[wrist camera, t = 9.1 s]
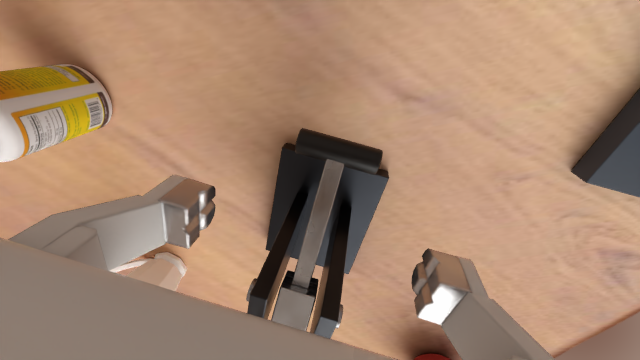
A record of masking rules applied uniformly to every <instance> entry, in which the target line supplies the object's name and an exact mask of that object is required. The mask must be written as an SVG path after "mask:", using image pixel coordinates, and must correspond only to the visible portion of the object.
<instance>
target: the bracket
mask: <svg viewBox="0 0 640 360" xmlns="http://www.w3.org/2000/svg"><path fill="white" fill-rule="evenodd" d="M325 162H326V161H322V160H319V159H315V158H312V157H308V156H304V155H301V154H297V153H296V152H295V145H293V144H289V143H286V144H285V145H284V146H283V147H282V151H281V158H280V164H279V170H278V176H277V183H276V189H275V195H274V201H273V207H272V214H271V220H270V226H269V232H268V239H267V245H266V250H268V251H270V252H269V254H268V257H267V259H266V261H265V263H264V265H263V267H262V270H261V272H260V274H259V276H258V278H257V279H256V278H255V279H254V280H253V281H252V283H251V285H250V288H249V290H248V293H247V298H246V300H247V301H249V305H248V314H251V315H254V316H257V317H261V318H264V319H268V316H269V313H270V310H271V308H272V305H273V302H274V299H275V297H276V294H277V291H278V289H279V286H280V283H281V280H282V278H283V275H284V272H285V269H286V267H287V264H288V261H289V258H290V257H292V258H295V259H298V258H299V255H300V251H301V248H302V244H303V241H304V237H305V234H306V230H307V226H308V223H309V219H310V216H311V212H312V209H313V205H314V202H315V198H316V194H317V191H318V187H319V184H320V180H321V177H322V173H323V170H324V166H325ZM388 179H389V175H388V171H385V170H381V169H378V171H377V173H376V174H375V175H372V174H368V173H365V172H361V171H358V170H354V169H350V168H347V167H344V168H343V171H342V175H341V178H340V181H339V185H338V188H337V192H336V195H335V199H334V202H333V206H332V209H331V213H330V216H329V219H328V223H327V226H326V230H325V233H324V237H323V240H322V244H321V247H320V251H319V254H318V257H317V261H316V264H315V265H319V266H322V267H324V268H323V272H322V277H321V282H320V287H319V292H318V296H317V301H316V306H315V311H314V316H313V320H312V325H311V330H310V333H313V334H316V335H319V336H322V337H326V338H329V339H330V338H331V336H332V334H333V332H334V329H335V328H338V327H339V326H340V323H341V319H342V314H343V305H342V304H340V302H341V293H342V285H343V277H344V273H346V274H349V272H350V269H351V267H352V265H353V262H354V260H355V257H356V255H357V253H358V250H359V248H360V246H361V243H362V241H363V238H364V236H365V234H366V231H367V229H368V227H369V224H370V222H371V219H372V217H373V215H374V212H375V210H376V208H377V205H378V203H379V200H380V198H381V196H382V193H383V191H384V189H385V186H386V184H387V182H388Z"/></svg>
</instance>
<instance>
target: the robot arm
mask: <svg viewBox="0 0 640 360" xmlns="http://www.w3.org/2000/svg"><path fill="white" fill-rule="evenodd" d="M214 197H215V188H214V186H212V185H208V184H205V183H202V182H199V181H196V180H193V179H189V178H186V177H182V176H179V175H172V176H170V177H169V178H168V179H166V180H165V181H163V182H162V183H160V184H159V185H158V186H156V187H155V188H153V189H152V190H151V191H149V192H148V193H146V194H145V195H143V196H140V195H137V196H132V197H128V198H123V199H119V200H115V201H110V202H106V203H101V204H97V205H93V206H88V207H84V208H79V209H75V210H71V211H66V212H62V213H58V214H53V215H51V216H49V217H47V218H45V219H44V220H42V221H40V222H38V223H36V224H35V225H33V226H31V227H29V228H28V229H26V230H24V231H22V232H21V233H19V234H17V235H15V236H14V237H12V238H10V239H8V240H6V239H3V238H0V360H398V359H394V358H391V357H388V356H385V355H381V354H378V353H375V352H372V351H368V350H365V349H362V348H358V347H355V346H352V345H349V344H345V343H342V342H339V341H336V340H332V339H329V338H326V337H322V336H319V335H316V334H313V333H309V332H306V331H303V330H300V329H296V328H293V327H290V326H287V325H283V324H280V323H277V322H274V321H270V320H267V319H264V318H261V317H257V316H254V315H251V314H248V313H244V312H241V311H238V310H235V309H231V308H228V307H225V306H222V305H218V304H215V303H212V302H209V301H205V300H202V299H199V298H196V297H192V296H189V295H186V294H183V293H179V292H176V291H173V290H170V289H166V288H163V287H160V286H156V285H153V284H150V283H147V282H143V281H140V280H137V279H134V278H130V277H127V276H124V275H121V274H117V273H114V272H111V271H110V270H112V269H114V268H116V267H118V266H120V265H122V264H124V263H127V262H129V261H131V260H133V259H135V258H137V257H139V256H141V255H143V254H145V253H147V252H149V251H152V250H154V249H156V248H158V247H160V246H162V245H164V244H165V242H166V243H169V244H173V245H177V246H180V247H184V248H188V249H189V248H190V247H191V245H192V244H193V243H194V242H195V241H196V240H197V238H198V237H199V231H200V230H203V229H205V228H207V227H208V225H209V224H210V223H211V221H212V219H213V216H214V212H215V204H214V202H213V201H212V199H213V198H214ZM422 257H423V262H421V263H419V264H417V265H416V267H415V269H414V271H413V275H412V289H413V291H414V292H415V293H416V294H417V297H416V298H415V300H414V302H415V308H416V314H417V317H418V318H421V319H424V320H427V321H430V322H433V323H436V324H439V325H442V326H441V327H442V329H443V330H444V332H445V334H446V335H447V337H448V338H449V340H450V341H451V343H452V344H453V346H454V348H455V349H456V351H457V352H458V354H459V355H460V357H461V358H462V360H555V359H554V358H553V357H552V356H551V355H550V354H549V353H548V352H547V351H546V350H545V349H544V348H543V347H542V346H541V345H540V344H539V343H537V342H536V341H535V340H534V339H533V338H532V337H531V336H530V335H529V334H528V333H527V332H526V331H525V330H524V329H523V328H522V327H521V326H520V325H519V324H518V323H517V322H516V321H515V320H514V319H513V318H512V317H511V316H510V315H509V314H508V313H507V312H506V311H505V310H504V309H503V308H502V307H501V306H499V305H498V304H497V303H496V302H495V301H494V300H493V299H490V298H489V297H488V295H487V293H486V291H485V288H484V286H483V284H482V282H481V279H480V277H479V275H478V273H477V270H476V268H475V266H474V264H473V262H472V261H471V260H470V259H466V258H462V257H458V256H453V255H449V254H446V253H442V252H439V251H435V250H432V249H427V250H426V251H425V252H424V254H423V255H422Z"/></svg>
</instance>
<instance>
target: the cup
mask: <svg viewBox="0 0 640 360" xmlns="http://www.w3.org/2000/svg"><path fill="white" fill-rule="evenodd" d="M140 265H141V266H140ZM136 266H139V267H138V268H136V269H134V270H133V271H131V272H130V273H129V274H128V275H126V276H127V277H130V278H134V279H137V280H140V281H143V282H147V283H150V284H153V285H156V286H160V287H163V288H166V289H170V290H173V291H176V289H177V287H178V285H179V282H180V280H181V278H182V277H183V276H184V275H185V272H186V270H187V267H186V266H185V264H184V263H183V261H182V260H181V258H179V257H177V256H175V255H173V254H171V253H169V252H164V253H157V254H156V255H155V258H154V259H152V258H148V259H140V260H135V261H131V262H127V263H124V264H122V265H120V266H118V267H116V268H114V269H112V270H110V271H111V272H114V273H115V272H118V271H121V270H124V269H128V268H132V267H136Z"/></svg>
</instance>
